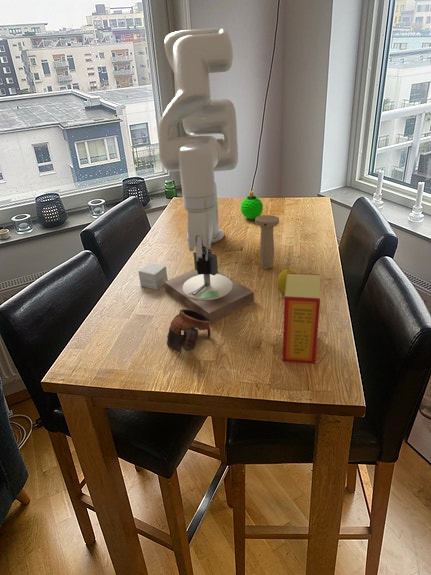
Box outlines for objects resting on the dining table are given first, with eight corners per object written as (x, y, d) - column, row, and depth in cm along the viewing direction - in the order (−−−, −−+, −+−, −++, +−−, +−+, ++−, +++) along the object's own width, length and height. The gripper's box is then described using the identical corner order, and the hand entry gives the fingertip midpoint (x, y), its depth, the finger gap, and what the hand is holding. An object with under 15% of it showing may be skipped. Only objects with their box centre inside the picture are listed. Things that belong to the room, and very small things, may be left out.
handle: (276, 272, 119) (277, 222, 112) (254, 270, 121) (253, 221, 114) (279, 264, 123) (280, 216, 116) (257, 262, 125) (257, 214, 117)
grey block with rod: (184, 292, 106) (180, 261, 102) (200, 280, 111) (197, 249, 106) (203, 299, 103) (200, 266, 98) (218, 286, 108) (216, 254, 103)
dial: (173, 286, 110) (172, 284, 110) (212, 269, 117) (212, 268, 117) (202, 306, 101) (202, 304, 101) (243, 287, 108) (243, 285, 108)
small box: (168, 280, 119) (166, 265, 117) (157, 290, 115) (154, 274, 112) (152, 277, 122) (149, 261, 119) (140, 286, 117) (137, 271, 115)
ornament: (257, 223, 150) (256, 196, 145) (237, 220, 154) (236, 194, 149) (266, 216, 156) (266, 189, 151) (246, 213, 160) (246, 187, 154)
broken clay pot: (161, 336, 98) (172, 303, 97) (199, 346, 101) (210, 314, 99) (167, 357, 87) (180, 320, 85) (209, 367, 89) (222, 332, 88)
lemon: (285, 304, 105) (286, 276, 101) (272, 294, 109) (272, 267, 105) (303, 298, 107) (304, 270, 103) (289, 288, 112) (290, 261, 107)
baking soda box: (285, 333, 95) (287, 271, 87) (314, 335, 94) (319, 272, 86) (282, 361, 87) (284, 295, 79) (314, 363, 86) (320, 297, 78)
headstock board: (165, 291, 114) (164, 281, 113) (207, 273, 121) (206, 264, 120) (210, 323, 100) (209, 313, 99) (254, 301, 107) (253, 291, 106)
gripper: (189, 189, 105) (195, 255, 114) (176, 214, 91) (185, 286, 100) (219, 188, 104) (222, 254, 113) (211, 213, 90) (216, 287, 99)
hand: (205, 269), depth 107 cm, fingers closed on grey block with rod, 3 cm apart
